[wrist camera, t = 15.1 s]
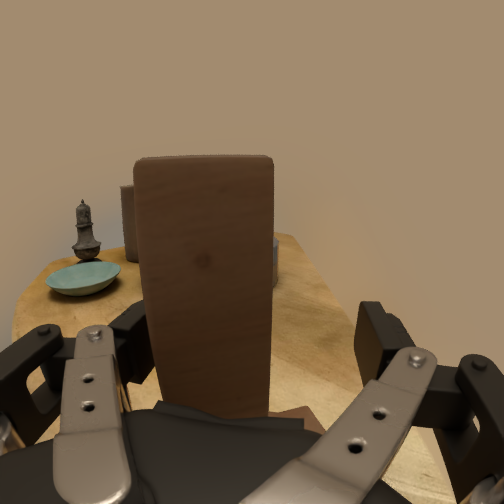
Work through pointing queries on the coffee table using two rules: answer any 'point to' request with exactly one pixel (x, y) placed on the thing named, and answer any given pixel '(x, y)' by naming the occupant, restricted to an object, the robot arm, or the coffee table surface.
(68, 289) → the saucer
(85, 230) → the salt shaker
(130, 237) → the pillar candle
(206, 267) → the wooden block
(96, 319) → the coffee table surface
